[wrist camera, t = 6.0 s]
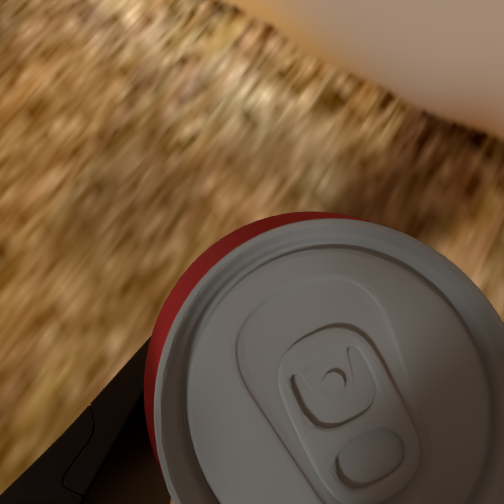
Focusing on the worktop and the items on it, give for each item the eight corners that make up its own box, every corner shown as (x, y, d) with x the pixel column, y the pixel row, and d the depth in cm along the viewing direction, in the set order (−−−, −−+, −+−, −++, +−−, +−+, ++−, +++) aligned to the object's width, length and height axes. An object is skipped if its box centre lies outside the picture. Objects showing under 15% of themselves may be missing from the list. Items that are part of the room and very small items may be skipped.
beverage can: (304, 254, 17) (422, 114, 5) (365, 374, 16) (696, 532, 4) (189, 308, 16) (38, 282, 5) (243, 437, 15) (221, 836, 3)
